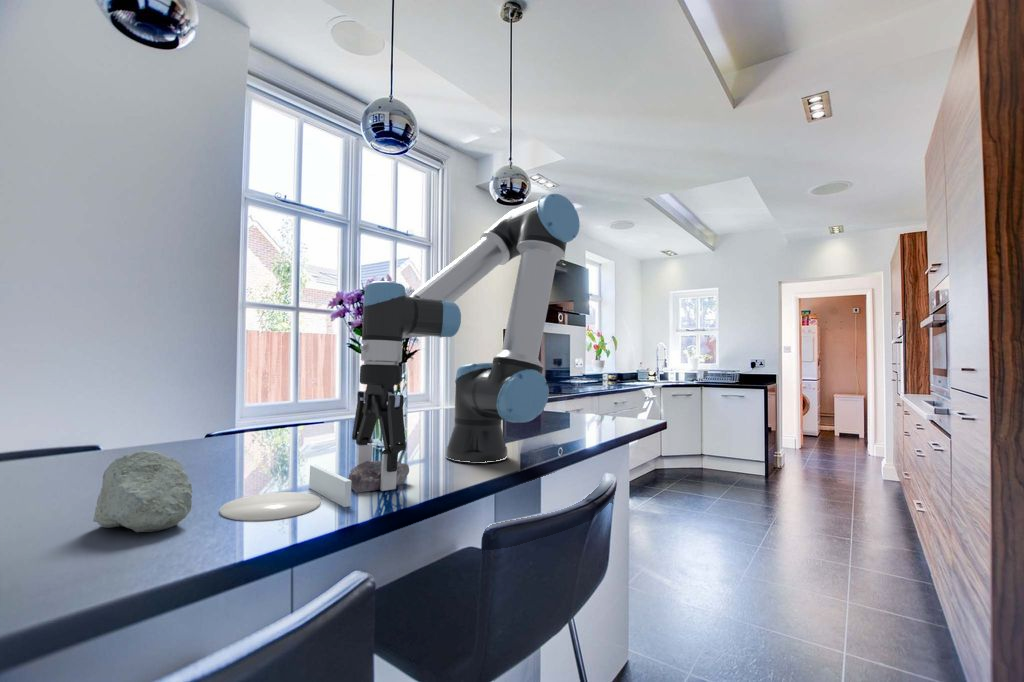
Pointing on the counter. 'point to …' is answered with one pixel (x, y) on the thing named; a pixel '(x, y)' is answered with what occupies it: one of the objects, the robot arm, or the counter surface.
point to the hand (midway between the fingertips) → (375, 483)
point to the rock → (373, 476)
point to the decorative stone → (144, 493)
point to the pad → (270, 506)
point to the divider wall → (330, 485)
